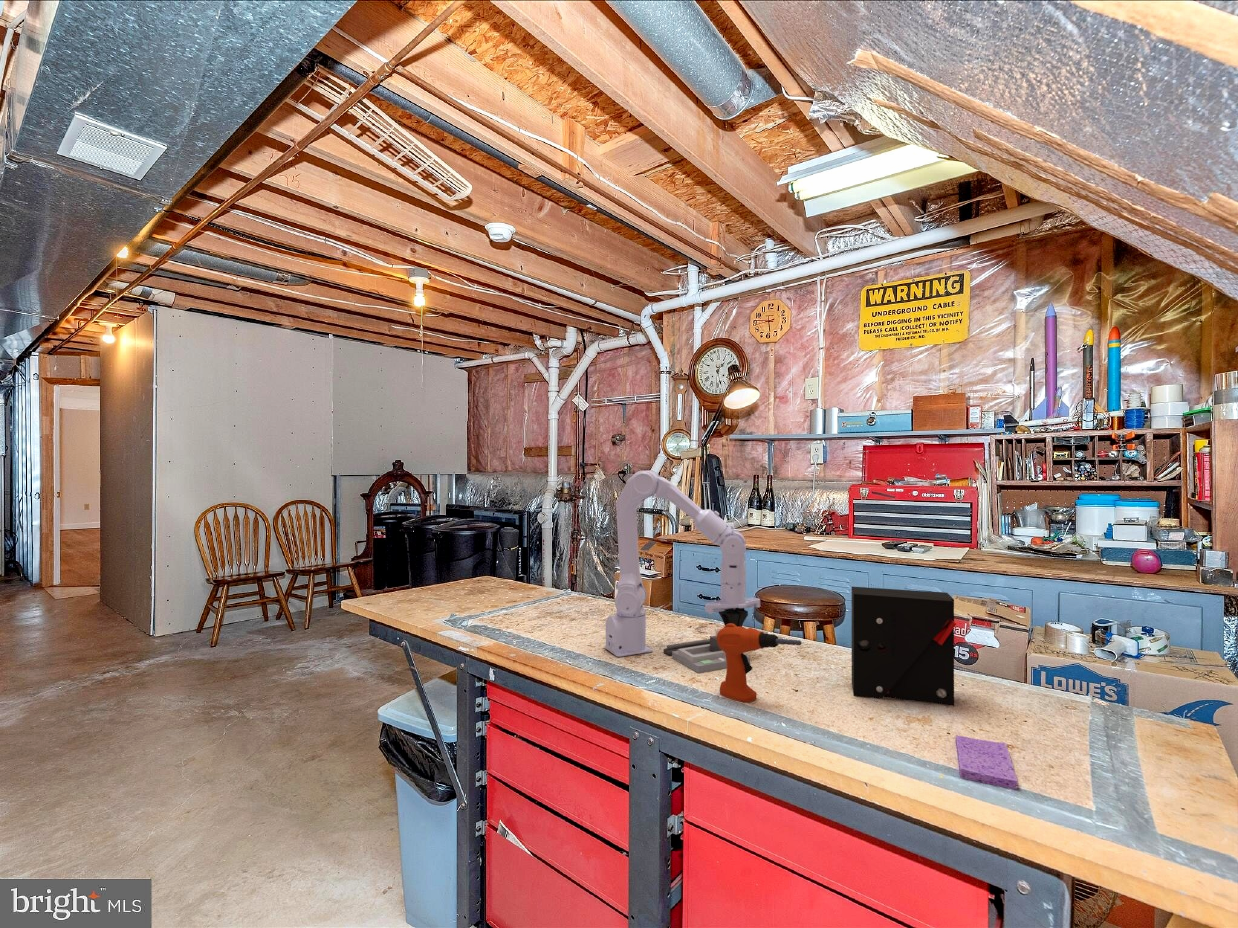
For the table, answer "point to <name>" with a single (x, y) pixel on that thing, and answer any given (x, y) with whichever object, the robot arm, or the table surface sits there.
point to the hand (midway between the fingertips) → (733, 640)
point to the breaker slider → (714, 643)
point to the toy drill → (743, 657)
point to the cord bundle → (685, 645)
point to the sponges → (985, 762)
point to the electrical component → (903, 645)
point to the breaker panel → (701, 658)
